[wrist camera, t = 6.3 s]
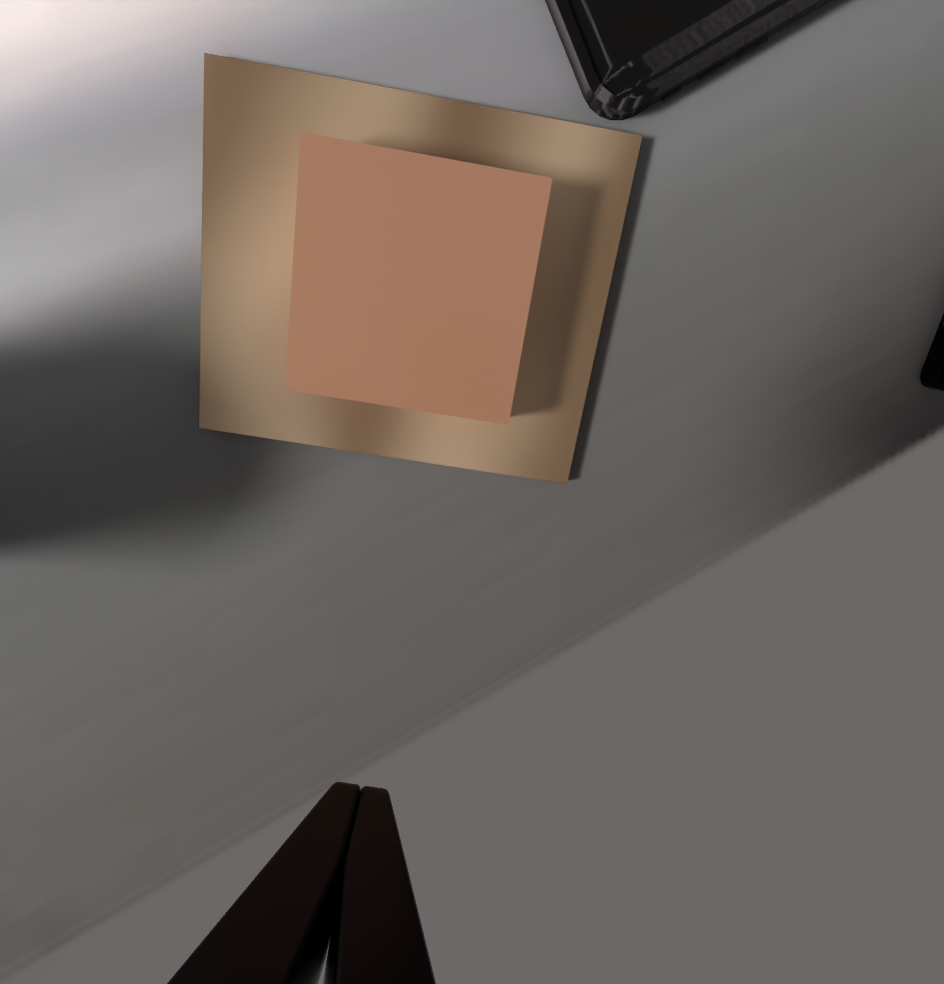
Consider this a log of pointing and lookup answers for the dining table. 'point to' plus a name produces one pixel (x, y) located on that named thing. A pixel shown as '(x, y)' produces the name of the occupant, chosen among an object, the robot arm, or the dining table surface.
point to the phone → (660, 44)
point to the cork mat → (270, 243)
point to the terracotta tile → (411, 278)
